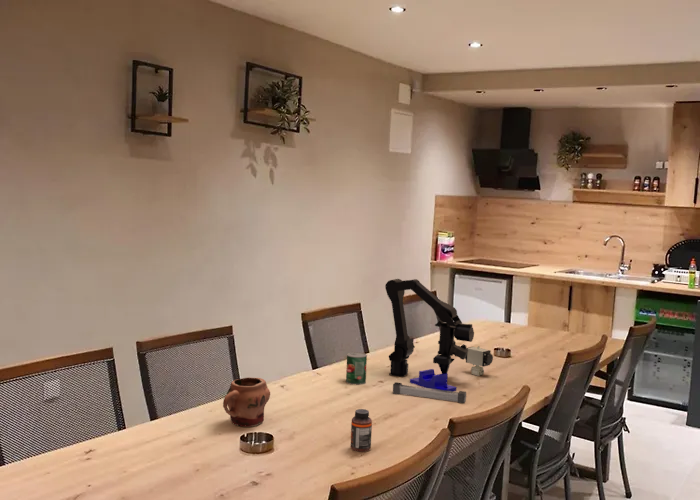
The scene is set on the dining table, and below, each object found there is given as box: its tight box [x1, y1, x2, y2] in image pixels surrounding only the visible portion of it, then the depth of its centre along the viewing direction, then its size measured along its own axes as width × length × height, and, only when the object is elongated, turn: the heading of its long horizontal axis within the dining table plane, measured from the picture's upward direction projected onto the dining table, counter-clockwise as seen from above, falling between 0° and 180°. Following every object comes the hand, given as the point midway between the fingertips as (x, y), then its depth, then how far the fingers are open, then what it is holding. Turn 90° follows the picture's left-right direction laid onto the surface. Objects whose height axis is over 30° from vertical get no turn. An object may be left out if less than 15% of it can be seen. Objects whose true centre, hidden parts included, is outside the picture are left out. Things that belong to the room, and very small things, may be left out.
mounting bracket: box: [409, 368, 457, 392], centre depth 271 cm, size 18×7×6 cm, turn 40°
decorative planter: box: [222, 377, 271, 428], centre depth 219 cm, size 20×12×14 cm, turn 154°
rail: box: [392, 381, 467, 404], centre depth 256 cm, size 27×3×4 cm, turn 70°
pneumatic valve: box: [464, 346, 494, 377], centre depth 292 cm, size 6×12×12 cm, turn 46°
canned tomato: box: [345, 351, 368, 386], centre depth 273 cm, size 8×8×11 cm
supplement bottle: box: [350, 408, 373, 453], centre depth 202 cm, size 6×6×11 cm
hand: (444, 376), depth 277 cm, fingers closed
